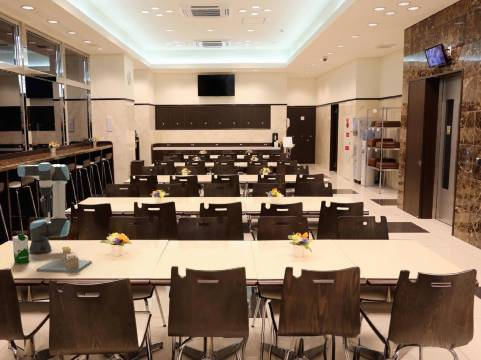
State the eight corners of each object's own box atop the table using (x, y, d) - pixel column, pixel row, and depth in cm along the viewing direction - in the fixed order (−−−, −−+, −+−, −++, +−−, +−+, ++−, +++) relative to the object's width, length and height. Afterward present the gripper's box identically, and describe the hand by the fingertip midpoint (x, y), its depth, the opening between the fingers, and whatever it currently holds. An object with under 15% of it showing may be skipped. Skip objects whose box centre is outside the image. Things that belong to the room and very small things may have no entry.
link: (78, 268, 292) (78, 257, 291) (68, 269, 288) (68, 259, 288) (71, 261, 307) (71, 250, 306) (61, 262, 304) (61, 252, 303)
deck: (54, 261, 312) (53, 245, 310) (91, 262, 308) (91, 247, 307) (36, 271, 291) (35, 254, 289) (76, 272, 287) (75, 256, 286)
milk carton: (17, 265, 303) (15, 235, 301) (12, 262, 310) (10, 233, 307) (30, 262, 310) (29, 233, 307) (26, 259, 316) (24, 231, 313)
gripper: (45, 185, 303) (47, 219, 306) (34, 187, 290) (36, 224, 293) (56, 185, 302) (58, 220, 305) (45, 188, 289) (47, 224, 292)
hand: (47, 222), depth 299 cm, fingers closed
